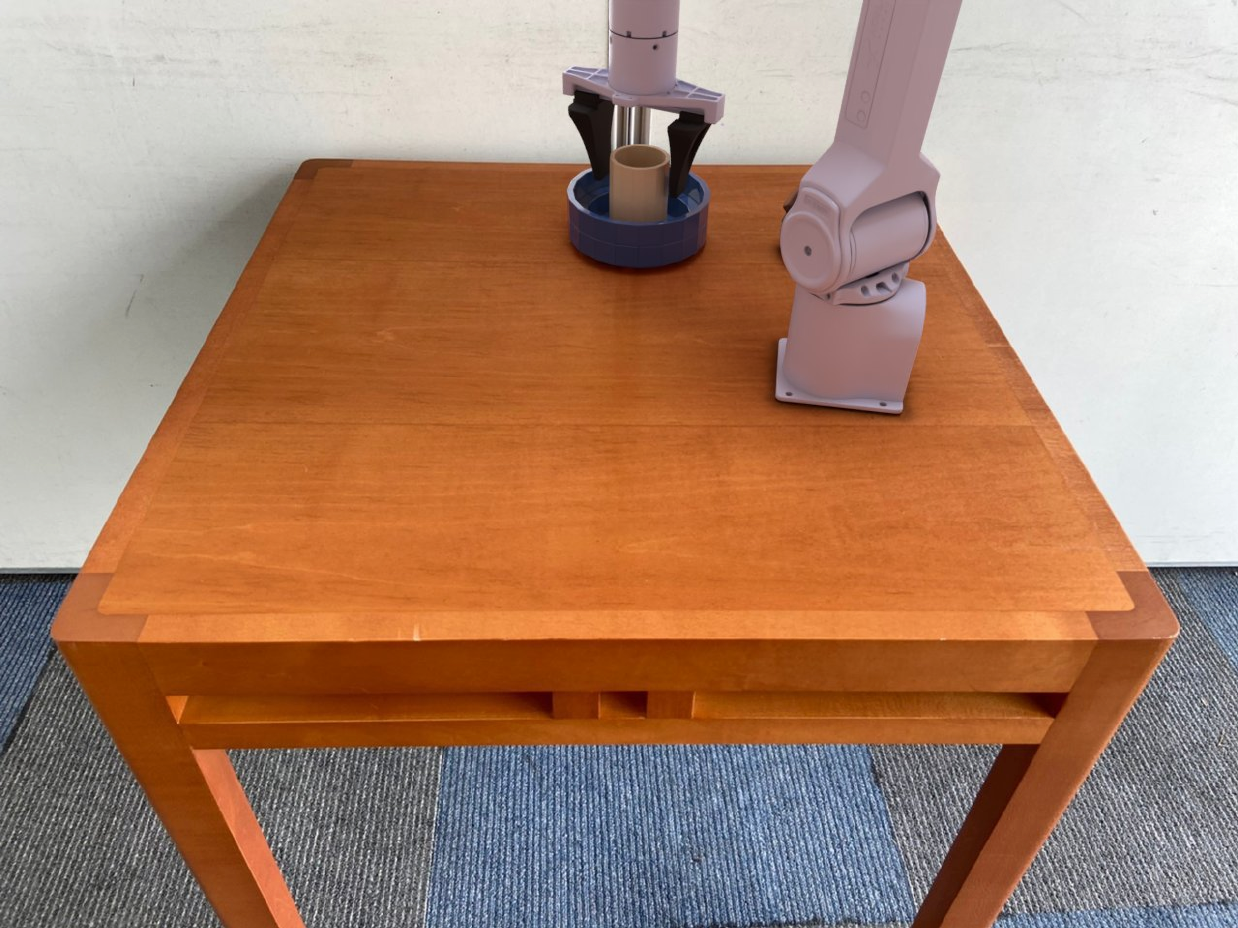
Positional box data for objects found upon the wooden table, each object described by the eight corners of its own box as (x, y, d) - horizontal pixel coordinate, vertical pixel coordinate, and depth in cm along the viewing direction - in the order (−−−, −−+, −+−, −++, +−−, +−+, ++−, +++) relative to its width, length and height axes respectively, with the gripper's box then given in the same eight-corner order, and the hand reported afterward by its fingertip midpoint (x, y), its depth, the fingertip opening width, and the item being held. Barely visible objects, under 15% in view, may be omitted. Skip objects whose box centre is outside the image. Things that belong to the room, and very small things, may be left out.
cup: (674, 226, 88) (679, 151, 82) (651, 251, 84) (655, 174, 79) (624, 214, 89) (625, 139, 84) (599, 238, 86) (599, 162, 81)
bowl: (711, 214, 91) (715, 166, 88) (698, 281, 82) (703, 231, 78) (583, 202, 93) (582, 155, 89) (555, 267, 83) (553, 217, 80)
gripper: (542, 28, 74) (549, 185, 83) (707, 57, 69) (695, 220, 78) (582, 5, 78) (584, 156, 88) (739, 31, 74) (724, 188, 83)
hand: (639, 185), depth 83 cm, fingers open, 7 cm apart
